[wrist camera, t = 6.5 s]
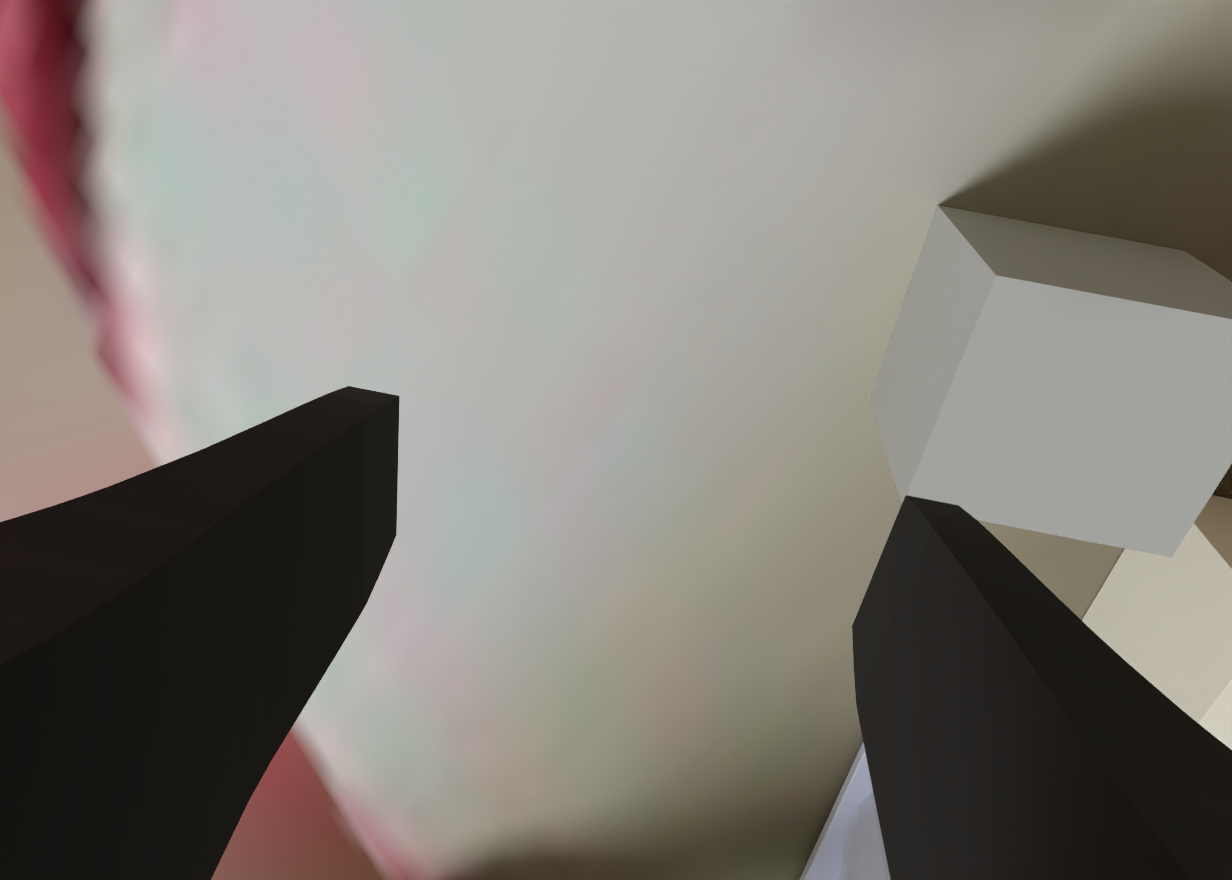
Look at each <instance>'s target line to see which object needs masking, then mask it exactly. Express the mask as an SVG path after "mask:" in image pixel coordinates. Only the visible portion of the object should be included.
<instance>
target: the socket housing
mask: <svg viewBox="0 0 1232 880" xmlns="http://www.w3.org/2000/svg"><path fill="white" fill-rule="evenodd" d="M1082 621H1083V622H1084V623H1085V624H1086V625H1087V626H1088V627H1089V628H1090V629H1091V630H1092V631H1093V632H1094V633H1095V634H1096V635H1098V636H1099V637H1100V638H1101V639H1102V640H1103V641H1104V642H1105V643H1106V644H1107V645H1108V646H1110V647H1111V648H1112V649H1113V650H1114V651H1115V652H1116V653H1117V654H1118V655H1119V656H1121V657H1122V658H1123V659H1124V660H1125V661H1126V662H1127V663H1128V664H1129V665H1131V666H1132V667H1133V668H1134V669H1135V670H1136V671H1138V672H1139V673H1140V674H1141V675H1142V676H1143V677H1144V678H1146V679H1147V680H1148V681H1149V682H1150V683H1151V684H1153V685H1154V686H1155V687H1156V688H1157V689H1158V690H1159V691H1161V692H1162V693H1163V694H1164V695H1165V696H1166V697H1168V698H1169V699H1170V700H1171V701H1172V702H1173V703H1174V704H1176V705H1177V706H1178V707H1179V708H1180V709H1181V710H1183V711H1184V712H1185V713H1186V714H1187V715H1189V716H1190V717H1191V718H1192V719H1194V720H1195V721H1196V722H1197V723H1198V724H1200V725H1201V726H1202V727H1203V728H1205V729H1206V730H1207V731H1208V732H1210V733H1211V734H1212V735H1213V736H1214V737H1216V738H1217V739H1218V740H1219V741H1221V742H1222V743H1223V744H1225V745H1226V746H1227V747H1229V748H1230V749H1231V750H1232V499H1229V498H1224V497H1219V496H1214V495H1211V497H1210V498H1209V500H1208V502H1207V503H1206V505H1205V506H1204V508H1203V509H1202V511H1201V513H1200V514H1199V516H1198V517H1197V519H1196V520H1195V522H1194V523H1193V525H1192V527H1191V528H1190V530H1189V531H1188V533H1187V534H1186V536H1185V537H1184V539H1183V541H1182V542H1181V544H1180V545H1179V547H1178V548H1177V550H1176V552H1175V553H1174V555H1173V556H1172V558H1171V557H1166V556H1161V555H1156V554H1151V553H1146V552H1140V551H1135V550H1130V549H1124V551H1123V553H1122V555H1121V556H1120V558H1119V560H1118V561H1117V563H1116V565H1115V566H1114V568H1113V570H1112V571H1111V573H1110V575H1109V576H1108V578H1107V580H1106V581H1105V583H1104V585H1103V586H1102V588H1101V590H1100V591H1099V593H1098V595H1097V596H1096V598H1095V600H1094V601H1093V603H1092V605H1091V606H1090V608H1089V610H1088V611H1087V613H1086V615H1085V616H1084V618H1083V620H1082Z"/></svg>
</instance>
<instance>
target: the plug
mask: <svg viewBox="0 0 1232 880" xmlns="http://www.w3.org/2000/svg"><path fill="white" fill-rule="evenodd" d="M869 401H870V404H871V407H872V411H873V414H874V417H875V420H876V423H877V427H878V430H879V433H880V436H881V439H882V442H883V446H884V449H885V452H886V455H887V458H888V462H889V465H890V468H891V471H892V474H893V477H894V481H895V484H896V487H897V490H898V493H899V497H900V500H901V503H903V501H904V498H905V496H906V495H908V496H913V497H918V498H923V499H928V500H934V501H939V502H944V503H949V504H954V505H959V506H960V507H961V508H963V509H964V510H965V511H966V512H968V513H969V514H970V515H971V516H972V517H973V518H975V519H976V520H981V521H986V522H991V523H996V524H1001V525H1006V526H1011V527H1017V528H1022V529H1027V530H1032V531H1037V532H1042V533H1048V534H1053V535H1058V536H1063V537H1068V538H1073V539H1079V540H1084V541H1089V542H1094V543H1099V544H1104V545H1109V546H1115V547H1120V548H1125V549H1130V550H1135V551H1140V552H1146V553H1151V554H1156V555H1161V556H1166V557H1171V558H1172V556H1173V555H1174V553H1175V552H1176V550H1177V548H1178V547H1179V545H1180V544H1181V542H1182V541H1183V539H1184V537H1185V536H1186V534H1187V533H1188V531H1189V530H1190V528H1191V527H1192V525H1193V523H1194V522H1195V520H1196V519H1197V517H1198V516H1199V514H1200V513H1201V511H1202V509H1203V508H1204V506H1205V505H1206V503H1207V502H1208V500H1209V498H1210V497H1211V495H1212V494H1213V492H1214V491H1215V489H1216V488H1217V486H1218V484H1219V483H1220V481H1221V480H1222V478H1223V477H1224V475H1225V474H1226V472H1227V470H1228V469H1229V467H1230V466H1231V464H1232V281H1231V280H1229V279H1227V278H1226V277H1224V276H1223V275H1221V274H1220V273H1218V272H1217V271H1215V270H1214V269H1212V268H1210V267H1209V266H1207V265H1206V264H1204V263H1203V262H1201V261H1200V260H1198V259H1196V258H1195V257H1193V256H1192V255H1190V254H1189V253H1187V252H1186V251H1183V250H1178V249H1172V248H1167V247H1162V246H1156V245H1151V244H1145V243H1140V242H1134V241H1129V240H1124V239H1118V238H1113V237H1107V236H1102V235H1097V234H1091V233H1086V232H1080V231H1075V230H1069V229H1064V228H1059V227H1053V226H1048V225H1042V224H1037V223H1032V222H1026V221H1021V220H1015V219H1010V218H1004V217H999V216H994V215H988V214H983V213H977V212H972V211H967V210H961V209H956V208H950V207H945V206H939V205H937V207H936V210H935V213H934V216H933V219H932V222H931V224H930V227H929V230H928V233H927V236H926V239H925V241H924V244H923V247H922V250H921V253H920V256H919V258H918V261H917V264H916V267H915V270H914V273H913V276H912V278H911V281H910V284H909V287H908V290H907V293H906V295H905V298H904V301H903V304H902V307H901V310H900V312H899V315H898V318H897V321H896V324H895V327H894V329H893V332H892V335H891V338H890V341H889V344H888V347H887V349H886V352H885V355H884V358H883V361H882V364H881V366H880V369H879V372H878V375H877V378H876V381H875V383H874V386H873V389H872V392H871V395H870V398H869Z"/></svg>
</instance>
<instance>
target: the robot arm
mask: <svg viewBox="0 0 1232 880" xmlns="http://www.w3.org/2000/svg"><path fill="white" fill-rule="evenodd" d="M398 431H399V396H396V395H391V394H386V393H381V392H376V391H370V390H365V389H360V388H355V387H350V386H348V387H345V388H342V389H339V390H336V391H334V392H331V393H329V394H326V395H324V396H322V397H319V398H317V399H314V400H312V401H310V402H308V403H305V404H303V405H301V406H299V407H296V408H294V409H292V410H290V411H288V412H285V413H283V414H281V415H279V416H277V417H274V418H272V419H270V420H268V421H266V422H263V423H261V424H259V425H257V426H254V427H252V428H250V429H248V430H245V431H243V432H241V433H239V434H236V435H234V436H232V437H230V438H227V439H225V440H223V441H220V442H218V443H216V444H214V445H211V446H209V447H207V448H205V449H202V450H200V451H197V452H195V453H192V454H190V455H187V456H185V457H182V458H180V459H177V460H175V461H172V462H170V463H167V464H165V465H162V466H160V467H157V468H155V469H152V470H150V471H147V472H145V473H142V474H140V475H137V476H135V477H132V478H130V479H127V480H124V481H122V482H120V483H117V484H114V485H112V486H109V487H107V488H104V489H101V490H98V491H95V492H93V493H90V494H87V495H84V496H81V497H78V498H76V499H73V500H69V501H67V502H64V503H61V504H58V505H55V506H52V507H48V508H45V509H42V510H39V511H36V512H32V513H29V514H26V515H23V516H19V517H16V518H13V519H10V520H6V521H3V522H0V880H211V878H212V876H213V874H214V872H215V870H216V868H217V866H218V863H219V861H220V859H221V857H222V855H223V853H224V851H225V849H226V847H227V845H228V843H229V840H230V839H231V836H232V834H233V832H234V830H235V828H236V826H237V824H238V822H239V820H240V818H241V816H242V813H243V811H244V810H245V807H246V805H247V803H248V801H249V800H250V798H251V796H252V794H253V792H254V791H255V789H256V787H257V785H258V783H259V782H260V780H261V778H262V776H263V774H264V773H265V771H266V769H267V767H268V765H269V763H270V762H271V760H272V759H273V756H274V755H275V754H276V752H277V750H278V749H279V747H280V745H281V744H282V742H283V741H284V739H285V737H286V735H287V734H288V732H289V731H290V729H291V727H292V726H293V724H294V723H295V721H296V719H297V718H298V716H299V714H300V713H301V711H302V710H303V708H304V706H305V705H306V703H307V701H308V700H309V698H310V696H311V695H312V693H313V692H314V690H315V688H316V687H317V685H318V683H319V682H320V680H321V678H322V677H323V675H324V674H325V672H326V670H327V669H328V667H329V665H330V664H331V662H332V661H333V659H334V657H335V656H336V654H337V652H338V651H339V649H340V647H341V646H342V644H343V642H344V641H345V639H346V637H347V636H348V634H349V632H350V631H351V629H352V627H353V626H354V624H355V622H356V621H357V619H358V617H359V616H360V614H361V612H362V610H363V609H364V607H365V605H366V603H367V601H368V599H369V597H370V595H371V592H372V590H373V588H374V586H375V583H376V581H377V579H378V577H379V575H380V572H381V570H382V568H383V565H384V563H385V560H386V558H387V556H388V553H389V551H390V549H391V546H392V544H393V541H394V539H395V537H396V522H397V476H398ZM852 629H853V655H854V675H855V690H856V704H857V709H858V715H859V721H860V726H861V731H862V737H863V743H862V745H861V748H860V750H859V752H858V754H857V756H856V758H855V761H854V763H853V765H852V767H851V769H850V771H849V774H848V776H847V778H846V780H845V782H844V784H843V787H842V789H841V791H840V793H839V795H838V797H837V800H836V802H835V804H834V806H833V808H832V810H831V812H830V815H829V817H828V819H827V821H826V823H825V825H824V828H823V830H822V832H821V834H820V836H819V838H818V841H817V843H816V845H815V847H814V849H813V851H812V854H811V856H810V858H809V860H808V862H807V864H806V867H805V869H804V871H803V873H802V875H801V877H800V880H1232V750H1231V749H1230V748H1229V747H1227V746H1226V745H1225V744H1223V743H1222V742H1221V741H1219V740H1218V739H1217V738H1216V737H1214V736H1213V735H1212V734H1211V733H1210V732H1208V731H1207V730H1206V729H1205V728H1203V727H1202V726H1201V725H1200V724H1198V723H1197V722H1196V721H1195V720H1194V719H1192V718H1191V717H1190V716H1189V715H1187V714H1186V713H1185V712H1184V711H1183V710H1181V709H1180V708H1179V707H1178V706H1177V705H1176V704H1174V703H1173V702H1172V701H1171V700H1170V699H1169V698H1168V697H1166V696H1165V695H1164V694H1163V693H1162V692H1161V691H1159V690H1158V689H1157V688H1156V687H1155V686H1154V685H1153V684H1151V683H1150V682H1149V681H1148V680H1147V679H1146V678H1144V677H1143V676H1142V675H1141V674H1140V673H1139V672H1138V671H1136V670H1135V669H1134V668H1133V667H1132V666H1131V665H1129V664H1128V663H1127V662H1126V661H1125V660H1124V659H1123V658H1122V657H1121V656H1119V655H1118V654H1117V653H1116V652H1115V651H1114V650H1113V649H1112V648H1111V647H1110V646H1108V645H1107V644H1106V643H1105V642H1104V641H1103V640H1102V639H1101V638H1100V637H1099V636H1098V635H1096V634H1095V633H1094V632H1093V631H1092V630H1091V629H1090V628H1089V627H1088V626H1087V625H1086V624H1085V623H1084V622H1083V621H1081V620H1080V619H1079V618H1078V617H1077V616H1076V615H1075V614H1074V613H1073V612H1072V611H1071V610H1070V609H1069V608H1068V607H1067V606H1066V605H1065V604H1064V603H1063V602H1061V601H1060V600H1059V599H1058V598H1057V597H1056V596H1055V595H1054V594H1053V593H1052V592H1051V591H1050V590H1049V589H1048V588H1047V587H1046V586H1045V585H1044V584H1043V583H1042V582H1041V581H1040V580H1039V579H1038V578H1037V577H1036V576H1035V575H1034V574H1033V573H1032V572H1031V571H1029V570H1028V569H1027V568H1026V567H1025V566H1024V565H1023V564H1022V563H1021V562H1020V561H1019V560H1018V559H1017V558H1016V557H1015V556H1014V555H1013V554H1012V553H1011V552H1010V551H1009V550H1008V549H1007V548H1006V547H1005V546H1004V545H1003V544H1002V543H1001V542H1000V541H998V540H997V539H996V538H995V537H994V536H993V535H992V534H991V533H990V532H989V531H988V530H987V529H986V528H985V527H984V526H982V525H981V524H980V523H979V522H978V521H977V520H976V519H975V518H973V517H972V516H971V515H970V514H969V513H968V512H966V511H965V510H964V509H963V508H961V507H960V506H959V505H954V504H949V503H944V502H939V501H934V500H928V499H923V498H918V497H913V496H908V495H906V496H905V498H904V501H903V503H902V506H901V508H900V510H899V513H898V515H897V518H896V520H895V523H894V525H893V528H892V530H891V533H890V535H889V537H888V540H887V542H886V545H885V547H884V550H883V552H882V555H881V557H880V559H879V562H878V564H877V567H876V569H875V572H874V574H873V577H872V579H871V581H870V584H869V586H868V589H867V591H866V594H865V596H864V599H863V601H862V604H861V606H860V608H859V611H858V613H857V616H856V618H855V621H854V623H853V626H852Z"/></svg>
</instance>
